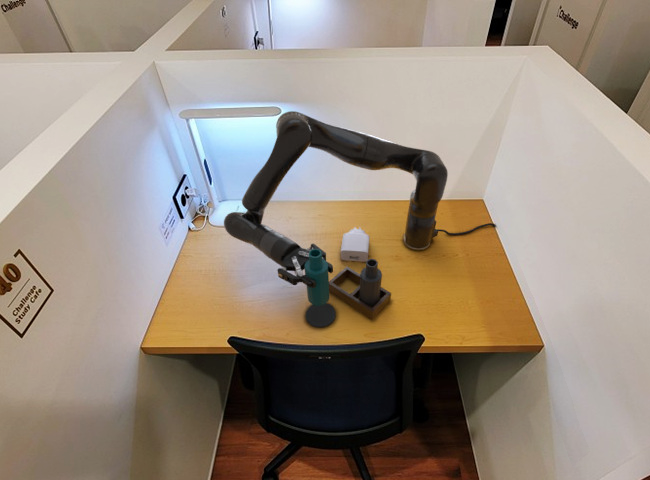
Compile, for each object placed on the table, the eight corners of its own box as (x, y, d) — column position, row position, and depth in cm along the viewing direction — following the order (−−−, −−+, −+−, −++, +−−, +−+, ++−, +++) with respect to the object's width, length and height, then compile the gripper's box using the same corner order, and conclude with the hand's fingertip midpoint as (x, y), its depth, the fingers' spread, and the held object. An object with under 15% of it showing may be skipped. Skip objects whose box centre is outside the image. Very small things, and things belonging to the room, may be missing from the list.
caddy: (346, 274, 120) (346, 266, 118) (390, 301, 112) (391, 293, 110) (328, 291, 116) (327, 282, 113) (372, 320, 108) (372, 312, 105)
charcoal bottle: (372, 292, 115) (375, 252, 102) (382, 305, 111) (387, 265, 99) (355, 300, 113) (356, 260, 100) (366, 313, 109) (368, 273, 97)
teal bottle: (323, 286, 106) (320, 241, 93) (333, 300, 102) (331, 256, 90) (304, 294, 104) (299, 250, 91) (313, 309, 100) (309, 265, 88)
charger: (370, 233, 135) (367, 262, 124) (345, 231, 136) (340, 260, 125) (370, 223, 131) (368, 252, 121) (345, 221, 132) (340, 250, 122)
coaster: (327, 299, 113) (326, 297, 113) (341, 319, 108) (341, 318, 107) (300, 310, 110) (300, 309, 110) (313, 332, 105) (313, 331, 104)
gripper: (257, 252, 96) (303, 284, 88) (296, 225, 103) (341, 252, 96) (262, 272, 101) (305, 303, 94) (299, 245, 109) (341, 271, 101)
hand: (323, 277), depth 95 cm, fingers closed on teal bottle, 6 cm apart
